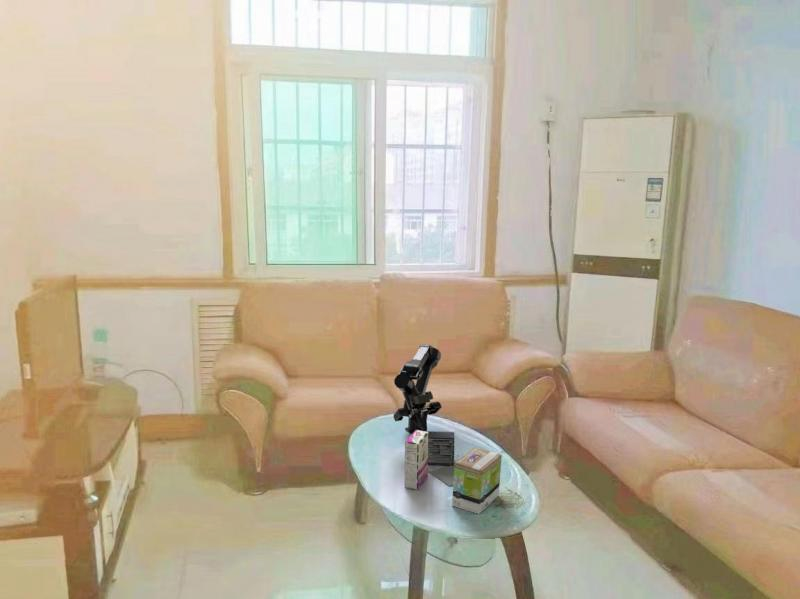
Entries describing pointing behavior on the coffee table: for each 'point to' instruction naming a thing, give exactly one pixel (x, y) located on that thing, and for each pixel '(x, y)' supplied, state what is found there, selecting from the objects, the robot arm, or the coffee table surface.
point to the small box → (440, 448)
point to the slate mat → (445, 474)
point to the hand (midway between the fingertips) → (425, 431)
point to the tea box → (476, 480)
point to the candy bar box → (416, 459)
